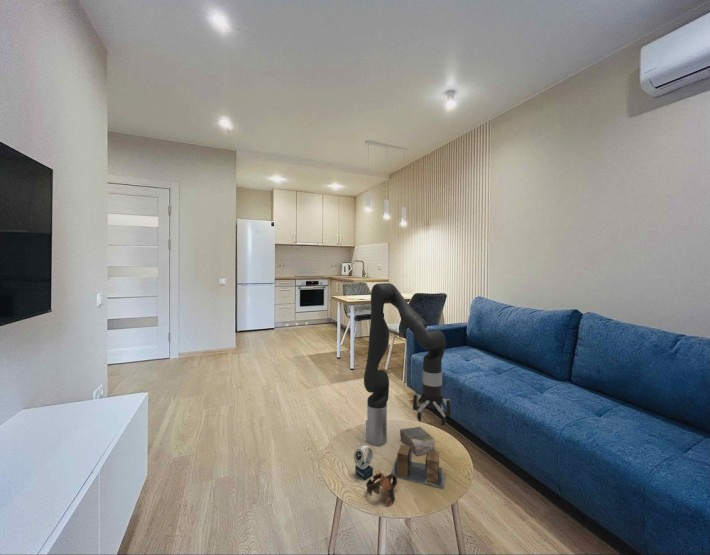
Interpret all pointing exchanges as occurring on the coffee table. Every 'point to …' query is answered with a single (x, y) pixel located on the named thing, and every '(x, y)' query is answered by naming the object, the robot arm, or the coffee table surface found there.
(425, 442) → the geological specimen
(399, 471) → the grey and brown stand
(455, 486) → the coffee table surface
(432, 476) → the brown wooden block
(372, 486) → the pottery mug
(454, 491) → the coffee table surface
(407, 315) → the robot arm
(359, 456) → the watch
